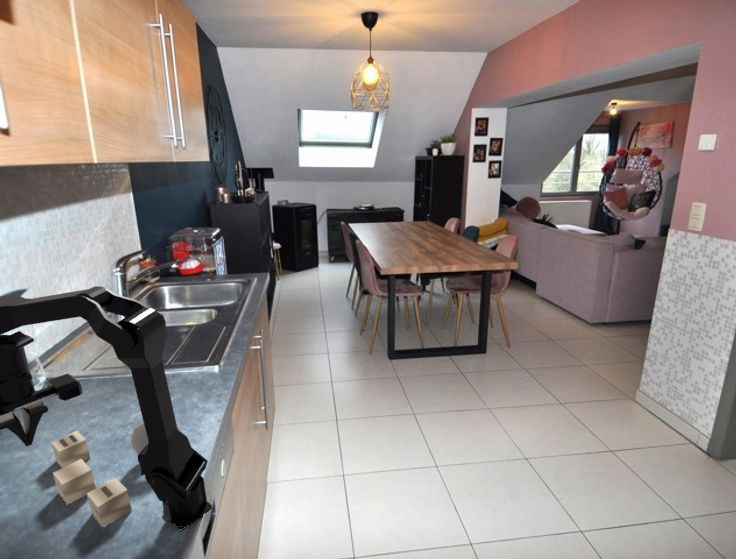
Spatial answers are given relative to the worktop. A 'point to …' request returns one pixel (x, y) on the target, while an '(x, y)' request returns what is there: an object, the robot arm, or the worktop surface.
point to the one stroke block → (109, 502)
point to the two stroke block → (70, 449)
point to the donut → (140, 437)
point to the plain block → (74, 481)
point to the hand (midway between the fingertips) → (28, 444)
